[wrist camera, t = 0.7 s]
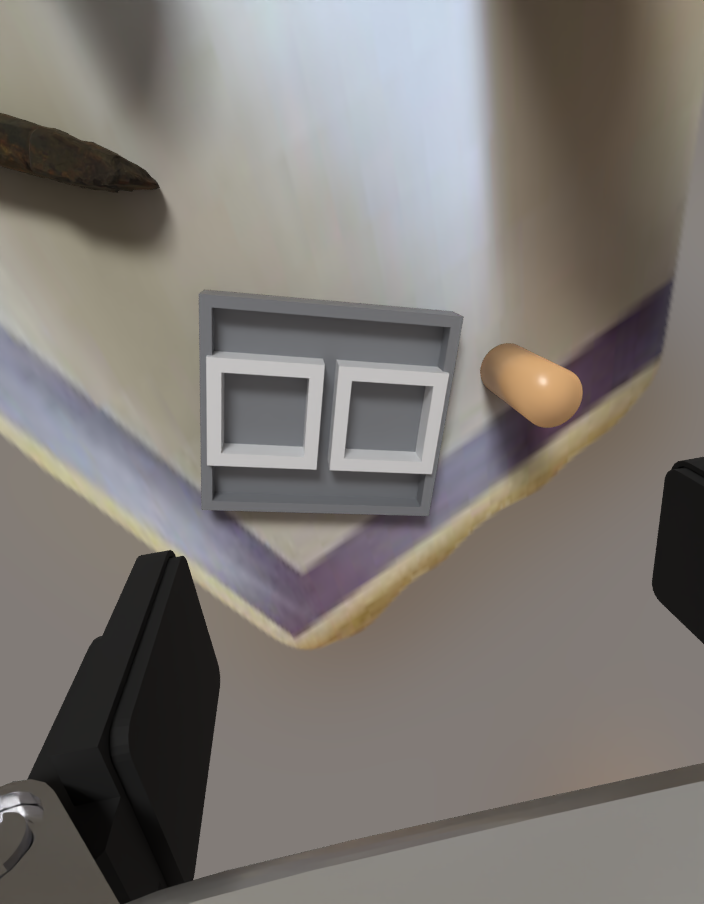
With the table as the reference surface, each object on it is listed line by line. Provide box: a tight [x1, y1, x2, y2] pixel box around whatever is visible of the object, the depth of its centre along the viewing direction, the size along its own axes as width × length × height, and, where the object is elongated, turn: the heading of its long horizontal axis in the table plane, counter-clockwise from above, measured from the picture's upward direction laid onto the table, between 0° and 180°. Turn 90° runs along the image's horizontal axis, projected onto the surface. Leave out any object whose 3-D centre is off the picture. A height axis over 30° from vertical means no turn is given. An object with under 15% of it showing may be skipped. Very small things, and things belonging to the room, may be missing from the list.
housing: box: [199, 290, 463, 516], centre depth 39 cm, size 16×18×3 cm
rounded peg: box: [480, 343, 583, 428], centre depth 37 cm, size 4×4×8 cm
